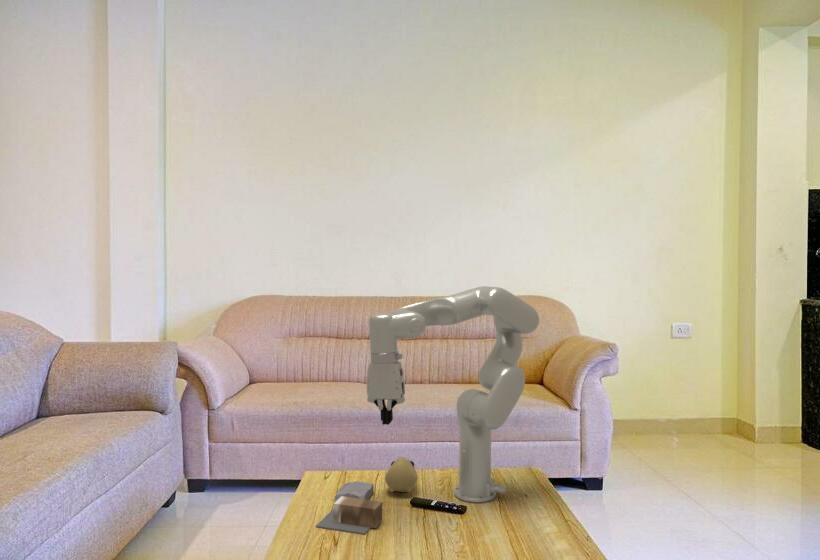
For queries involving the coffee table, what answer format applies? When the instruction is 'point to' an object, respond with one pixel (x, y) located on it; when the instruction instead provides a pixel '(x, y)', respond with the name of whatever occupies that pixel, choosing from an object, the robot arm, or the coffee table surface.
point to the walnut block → (358, 512)
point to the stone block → (355, 490)
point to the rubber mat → (341, 525)
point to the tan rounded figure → (401, 475)
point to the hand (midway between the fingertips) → (387, 423)
